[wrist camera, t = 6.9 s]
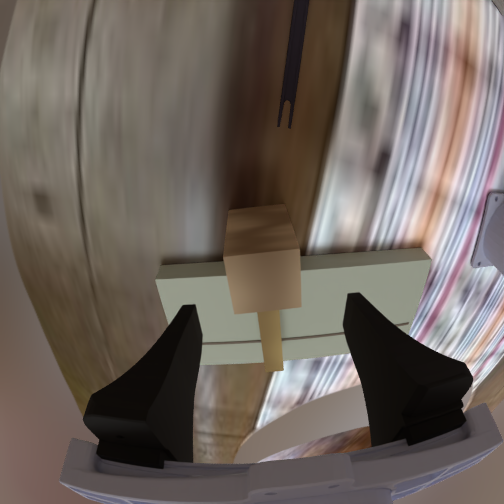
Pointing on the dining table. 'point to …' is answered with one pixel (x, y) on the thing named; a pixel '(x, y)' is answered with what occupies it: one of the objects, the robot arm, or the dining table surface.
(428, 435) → the robot arm
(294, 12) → the bar clamp
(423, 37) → the dining table surface
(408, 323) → the board
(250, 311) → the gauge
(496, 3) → the skincare box
